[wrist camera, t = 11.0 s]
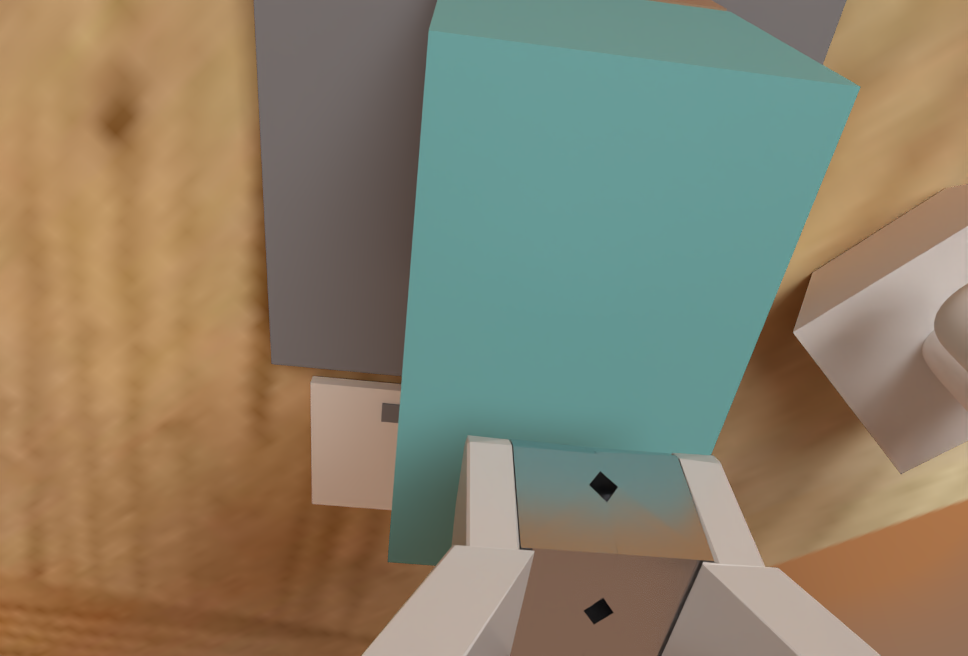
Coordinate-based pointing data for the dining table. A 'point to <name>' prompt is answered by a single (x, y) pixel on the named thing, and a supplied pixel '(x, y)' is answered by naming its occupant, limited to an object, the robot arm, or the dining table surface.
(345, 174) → the baseplate
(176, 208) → the dining table surface
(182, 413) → the dining table surface
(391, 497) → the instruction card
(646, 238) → the teal block
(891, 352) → the figurine
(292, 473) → the dining table surface
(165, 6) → the dining table surface
